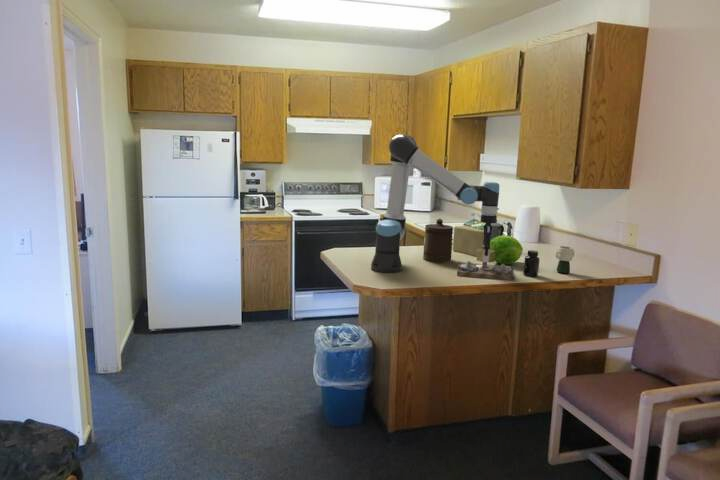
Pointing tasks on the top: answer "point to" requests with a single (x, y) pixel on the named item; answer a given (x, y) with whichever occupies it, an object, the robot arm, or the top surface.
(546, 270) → the top surface
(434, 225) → the wooden container
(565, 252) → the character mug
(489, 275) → the gear board
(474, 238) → the beige rectangular block
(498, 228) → the coffeepot
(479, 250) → the faceted octagonal washer
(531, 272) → the supplement bottle
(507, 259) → the lettuce
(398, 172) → the robot arm
